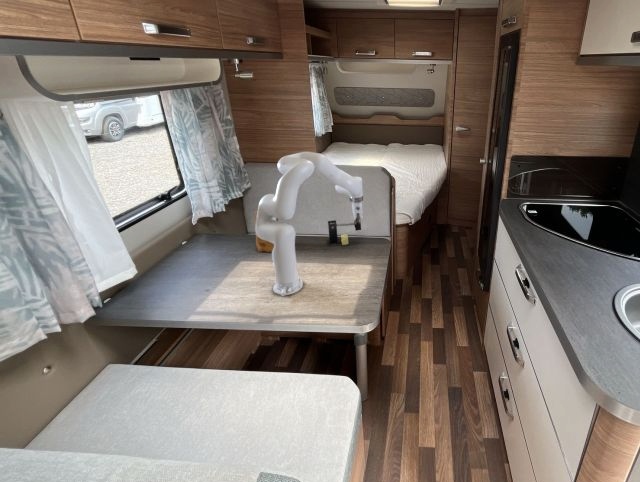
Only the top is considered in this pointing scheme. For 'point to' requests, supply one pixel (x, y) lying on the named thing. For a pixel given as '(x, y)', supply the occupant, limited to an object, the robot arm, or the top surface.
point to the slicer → (332, 232)
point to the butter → (344, 239)
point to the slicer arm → (344, 224)
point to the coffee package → (263, 241)
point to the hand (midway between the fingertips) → (357, 228)
